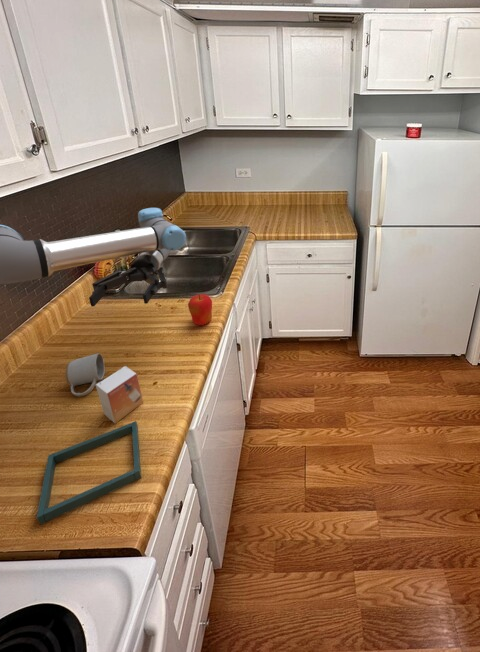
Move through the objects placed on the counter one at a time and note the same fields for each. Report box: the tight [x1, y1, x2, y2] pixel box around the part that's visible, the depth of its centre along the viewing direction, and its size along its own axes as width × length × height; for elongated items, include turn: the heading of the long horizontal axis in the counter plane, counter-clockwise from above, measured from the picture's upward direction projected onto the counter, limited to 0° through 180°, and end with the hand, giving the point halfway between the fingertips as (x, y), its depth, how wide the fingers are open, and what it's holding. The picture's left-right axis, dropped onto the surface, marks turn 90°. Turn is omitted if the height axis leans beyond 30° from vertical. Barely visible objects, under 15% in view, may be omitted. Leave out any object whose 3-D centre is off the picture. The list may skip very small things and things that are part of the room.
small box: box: [95, 365, 144, 424], centre depth 88 cm, size 8×6×10 cm
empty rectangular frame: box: [36, 420, 142, 525], centre depth 75 cm, size 18×14×2 cm
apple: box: [187, 293, 213, 326], centre depth 123 cm, size 9×8×12 cm
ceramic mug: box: [64, 352, 106, 397], centre depth 96 cm, size 11×8×8 cm
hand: (118, 300), depth 89 cm, fingers open, 13 cm apart
